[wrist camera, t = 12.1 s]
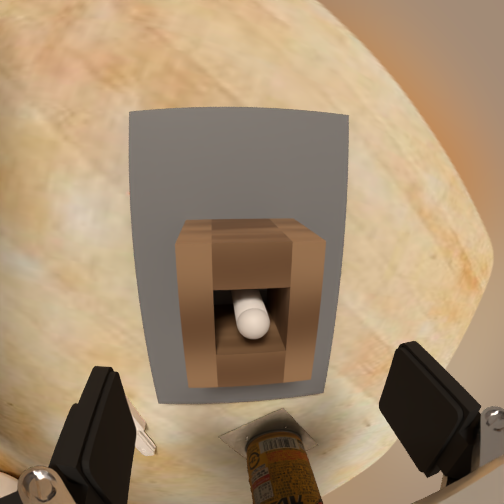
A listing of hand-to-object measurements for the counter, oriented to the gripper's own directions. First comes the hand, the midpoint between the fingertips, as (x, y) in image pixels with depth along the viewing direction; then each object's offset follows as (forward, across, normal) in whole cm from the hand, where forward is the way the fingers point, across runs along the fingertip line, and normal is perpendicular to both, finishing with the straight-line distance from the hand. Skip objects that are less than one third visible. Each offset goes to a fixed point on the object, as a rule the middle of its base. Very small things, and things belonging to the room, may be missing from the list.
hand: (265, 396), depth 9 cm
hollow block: (+12, 0, +1) cm, 12 cm away
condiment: (+13, -4, +20) cm, 24 cm away
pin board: (+13, -1, +1) cm, 13 cm away
